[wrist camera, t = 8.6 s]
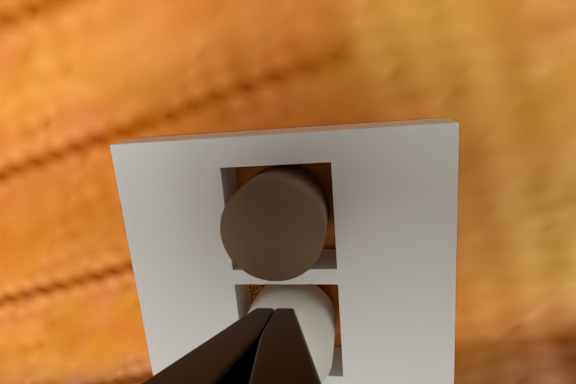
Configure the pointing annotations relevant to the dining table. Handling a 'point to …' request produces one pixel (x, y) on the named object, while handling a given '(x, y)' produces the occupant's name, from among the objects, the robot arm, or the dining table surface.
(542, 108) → the dining table surface
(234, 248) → the key walnut
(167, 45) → the dining table surface
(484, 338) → the dining table surface
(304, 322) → the key ivory
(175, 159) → the keypad
